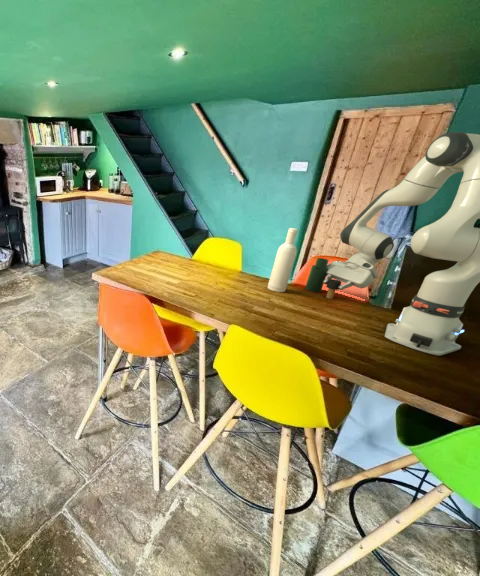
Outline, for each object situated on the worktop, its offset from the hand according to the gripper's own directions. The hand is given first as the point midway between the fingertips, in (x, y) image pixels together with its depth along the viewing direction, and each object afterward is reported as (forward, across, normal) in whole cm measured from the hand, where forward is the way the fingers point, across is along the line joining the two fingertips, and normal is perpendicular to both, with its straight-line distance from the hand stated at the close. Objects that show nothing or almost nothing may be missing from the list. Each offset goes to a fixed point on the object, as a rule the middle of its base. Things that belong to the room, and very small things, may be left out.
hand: (332, 286), depth 139 cm
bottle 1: (+17, -12, -9) cm, 23 cm away
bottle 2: (+3, -10, +5) cm, 12 cm away
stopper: (+4, 0, +5) cm, 6 cm away
